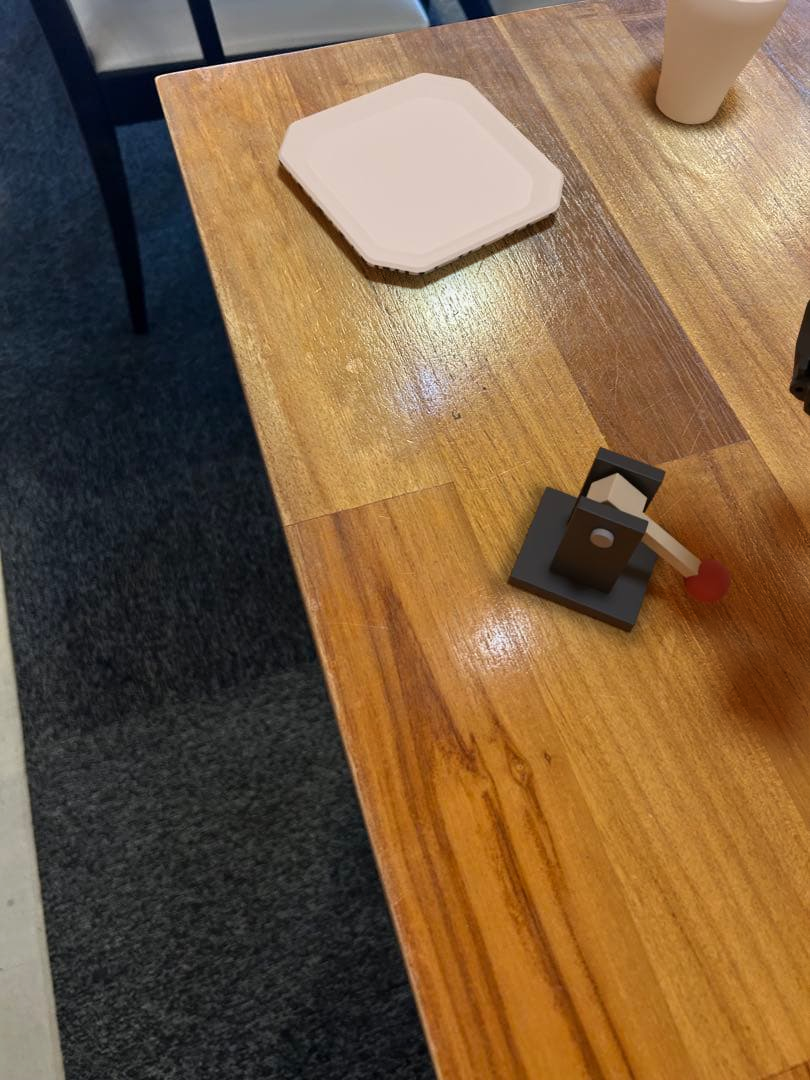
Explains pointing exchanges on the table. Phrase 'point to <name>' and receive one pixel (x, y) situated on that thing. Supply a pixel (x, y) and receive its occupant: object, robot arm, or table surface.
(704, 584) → the switch lever
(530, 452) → the table surface
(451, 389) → the table surface
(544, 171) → the plate
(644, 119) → the table surface
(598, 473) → the switch base
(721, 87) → the cup
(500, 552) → the table surface
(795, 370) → the robot arm
